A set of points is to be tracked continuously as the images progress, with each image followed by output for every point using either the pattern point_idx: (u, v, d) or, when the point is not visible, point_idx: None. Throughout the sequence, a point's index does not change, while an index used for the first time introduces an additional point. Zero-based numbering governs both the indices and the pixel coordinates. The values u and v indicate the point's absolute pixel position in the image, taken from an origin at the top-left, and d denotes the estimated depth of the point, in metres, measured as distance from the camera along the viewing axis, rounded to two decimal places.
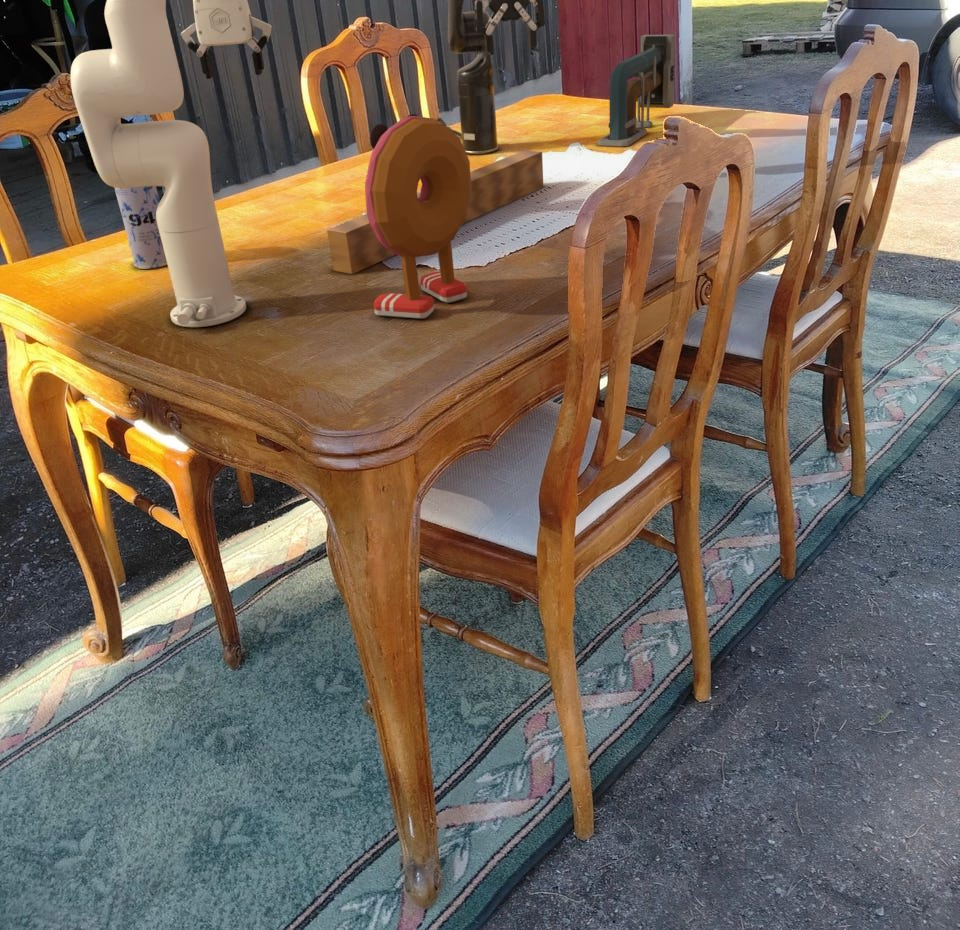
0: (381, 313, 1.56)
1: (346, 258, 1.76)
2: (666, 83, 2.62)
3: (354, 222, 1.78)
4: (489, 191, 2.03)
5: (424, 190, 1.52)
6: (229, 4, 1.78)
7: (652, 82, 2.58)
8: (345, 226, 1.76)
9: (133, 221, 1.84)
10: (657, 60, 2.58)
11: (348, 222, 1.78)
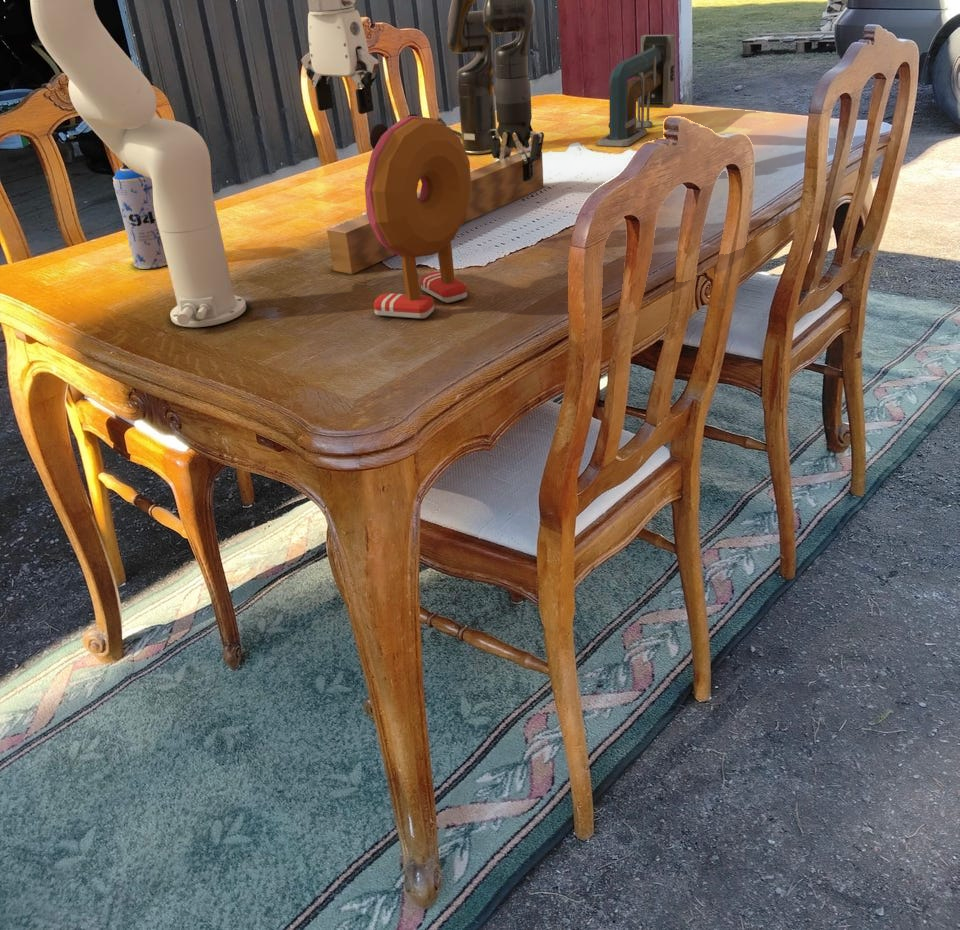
0: (381, 313, 1.56)
1: (346, 258, 1.76)
2: (666, 83, 2.62)
3: (354, 222, 1.78)
4: (489, 191, 2.03)
5: (424, 190, 1.52)
6: None
7: (652, 82, 2.58)
8: (345, 226, 1.76)
9: (133, 221, 1.84)
10: (657, 60, 2.58)
11: (348, 222, 1.78)
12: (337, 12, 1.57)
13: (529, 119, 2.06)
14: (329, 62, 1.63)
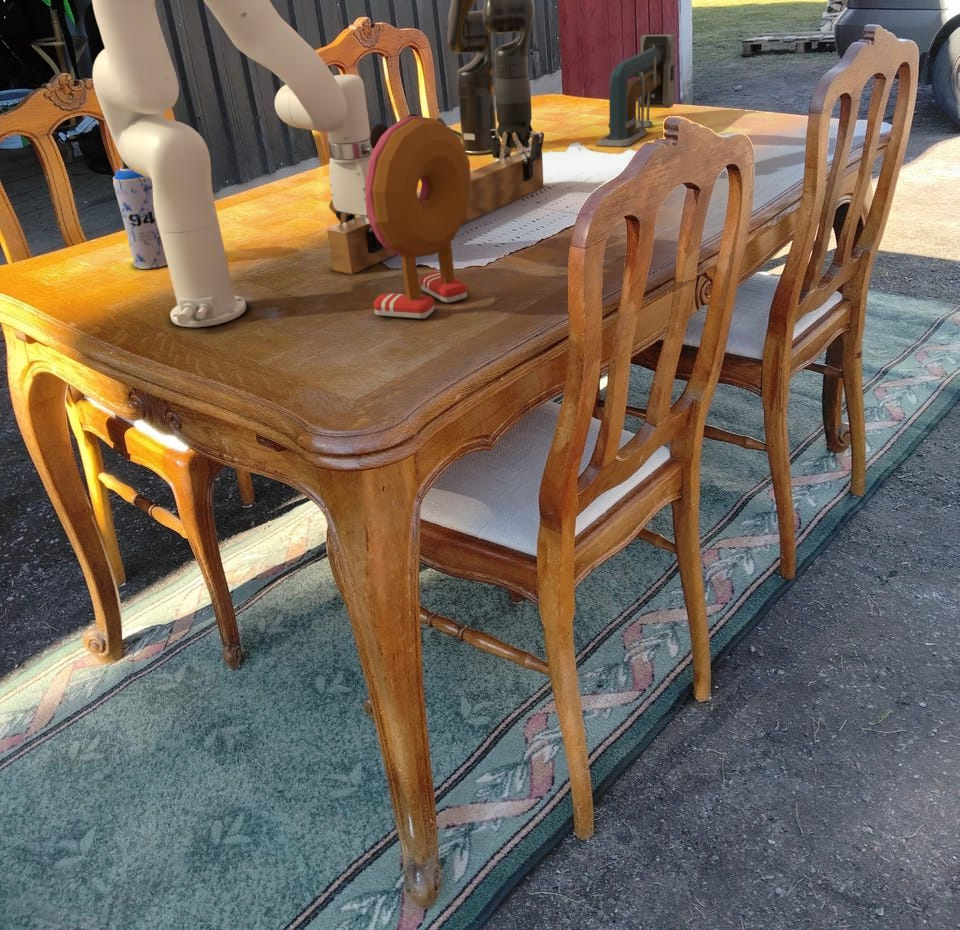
0: (381, 313, 1.56)
1: (346, 258, 1.76)
2: (666, 83, 2.62)
3: (354, 222, 1.78)
4: (490, 191, 2.03)
5: (424, 190, 1.52)
6: None
7: (652, 82, 2.58)
8: (345, 226, 1.76)
9: (133, 221, 1.84)
10: (657, 60, 2.58)
11: (348, 222, 1.78)
12: (357, 160, 1.69)
13: (529, 119, 2.06)
14: (349, 202, 1.75)
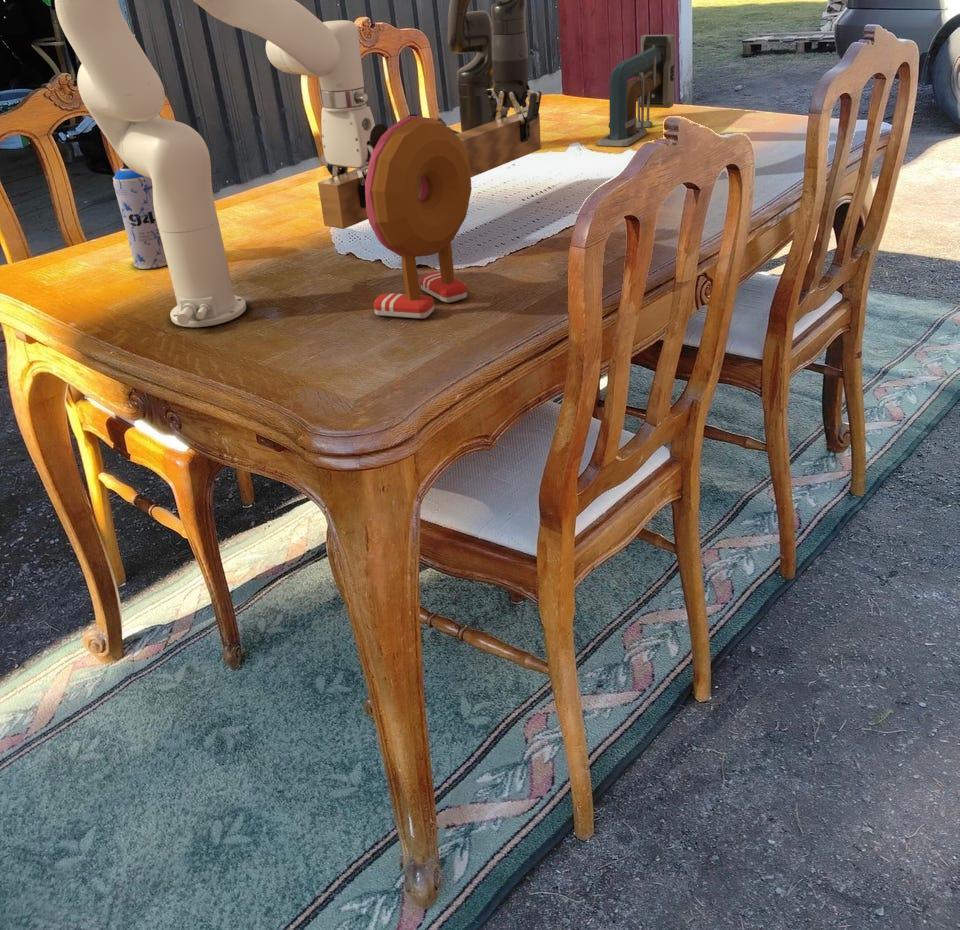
0: (381, 313, 1.56)
1: (337, 212, 1.71)
2: (666, 83, 2.62)
3: (346, 176, 1.73)
4: (485, 151, 1.99)
5: (424, 190, 1.52)
6: None
7: (652, 82, 2.58)
8: (336, 179, 1.72)
9: (133, 221, 1.84)
10: (657, 60, 2.58)
11: (340, 176, 1.74)
12: (350, 109, 1.65)
13: (526, 77, 2.01)
14: (341, 154, 1.70)
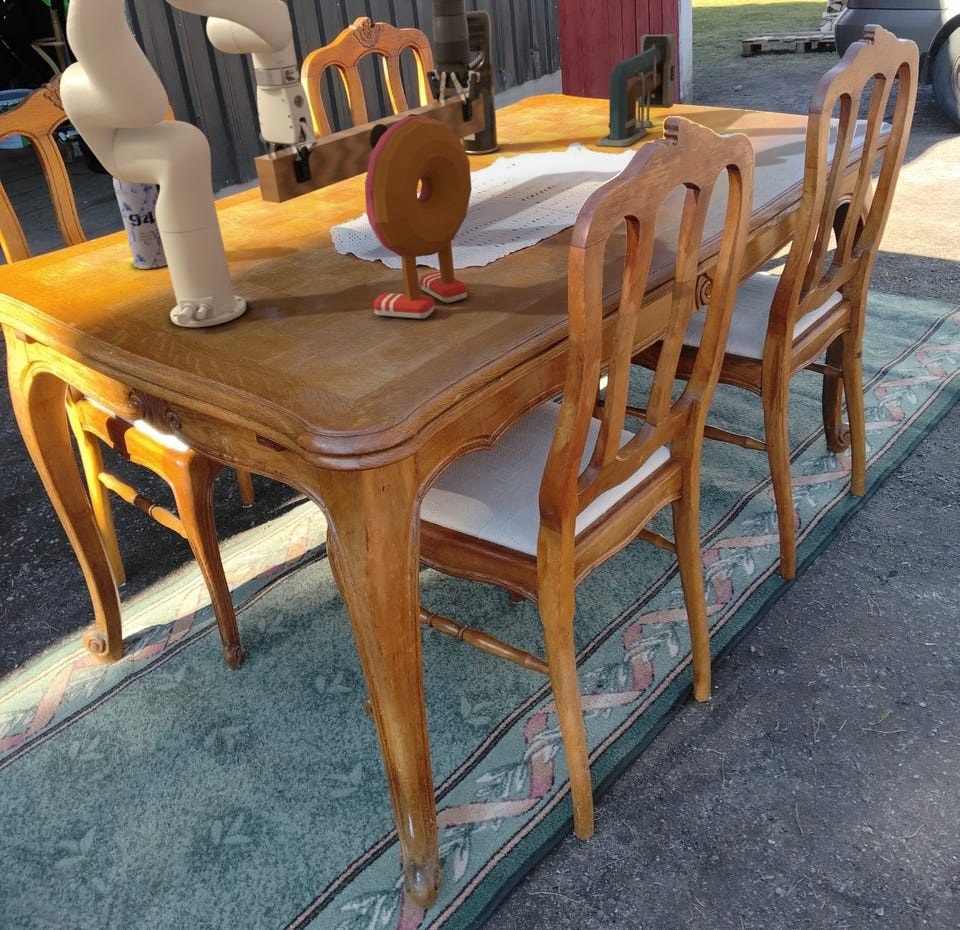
0: (381, 313, 1.56)
1: (273, 187, 1.76)
2: (666, 83, 2.62)
3: (283, 152, 1.78)
4: None
5: (424, 190, 1.52)
6: None
7: (652, 82, 2.58)
8: (273, 155, 1.77)
9: (133, 221, 1.84)
10: (657, 60, 2.58)
11: (277, 152, 1.79)
12: (282, 87, 1.70)
13: (467, 58, 2.06)
14: (276, 130, 1.75)
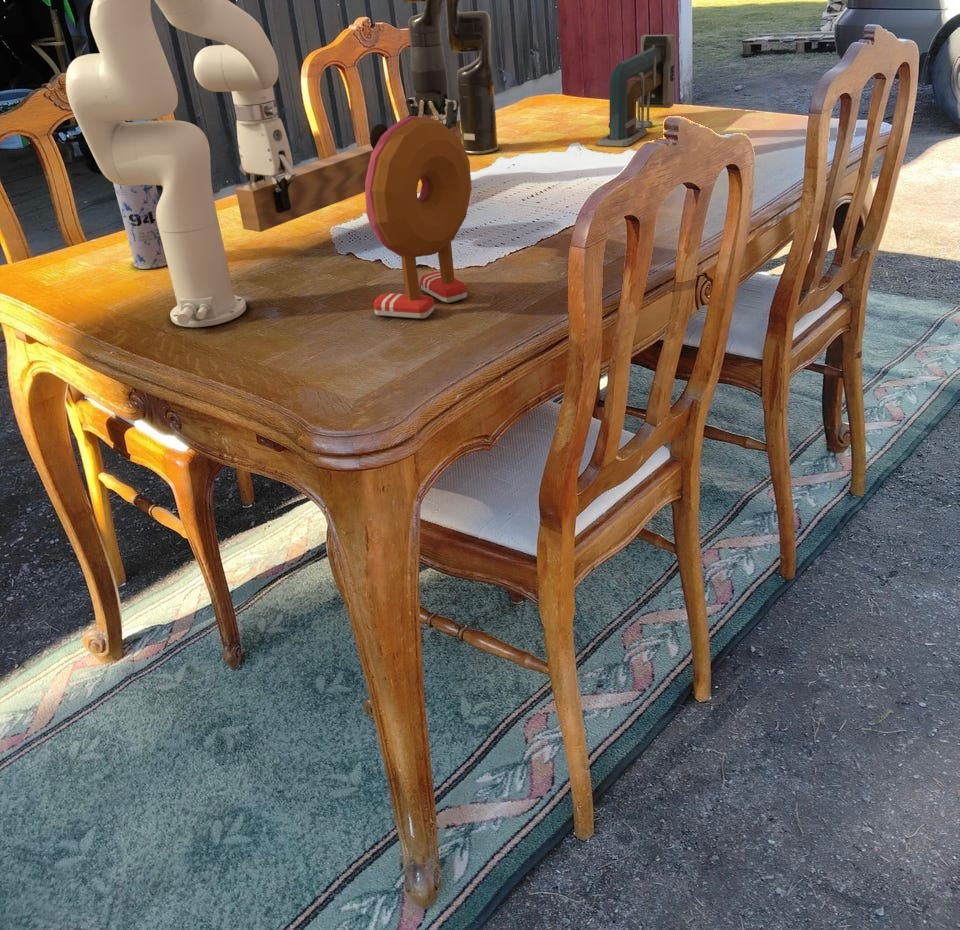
0: (381, 313, 1.56)
1: (254, 216, 1.83)
2: (666, 83, 2.62)
3: (263, 182, 1.85)
4: None
5: (424, 190, 1.52)
6: None
7: (652, 82, 2.58)
8: (253, 186, 1.83)
9: (133, 221, 1.84)
10: (657, 60, 2.58)
11: (257, 182, 1.85)
12: (261, 122, 1.76)
13: (444, 87, 2.12)
14: (256, 163, 1.82)
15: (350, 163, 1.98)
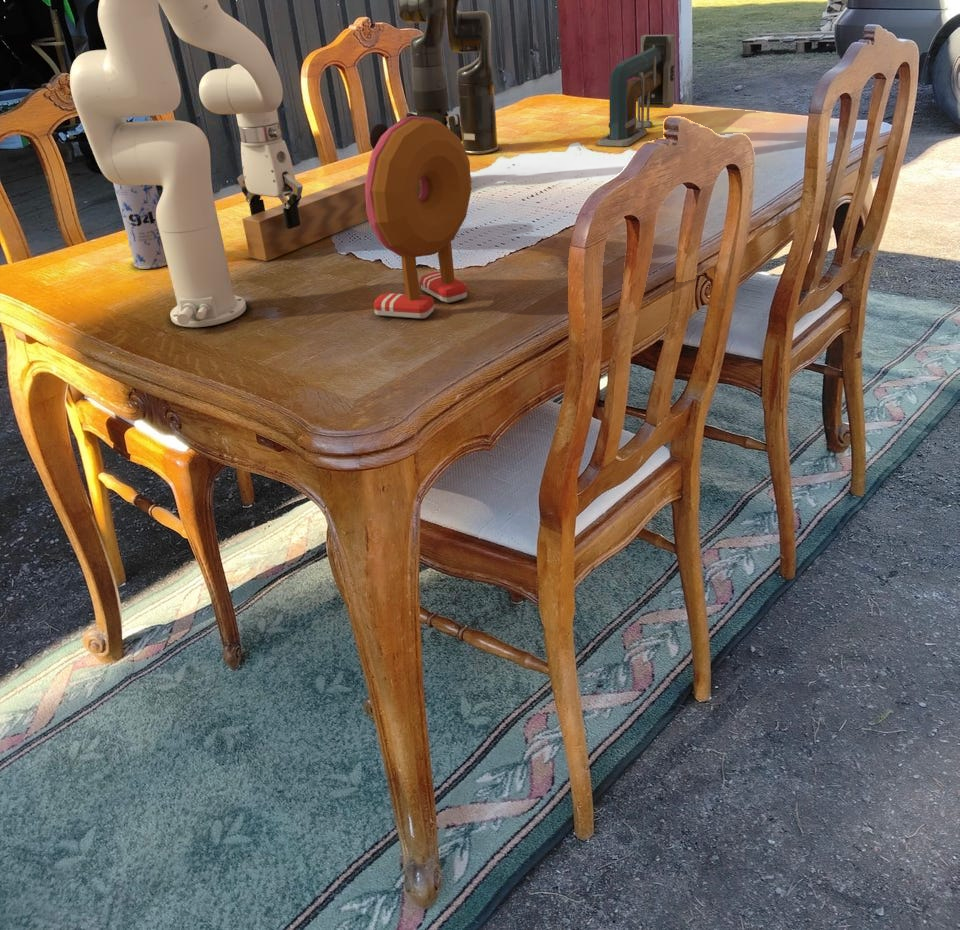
0: (381, 313, 1.56)
1: (260, 246, 1.86)
2: (666, 83, 2.62)
3: (269, 212, 1.88)
4: None
5: (424, 190, 1.52)
6: None
7: (652, 82, 2.58)
8: (260, 216, 1.86)
9: (133, 221, 1.84)
10: (657, 60, 2.58)
11: (263, 212, 1.88)
12: (265, 144, 1.78)
13: (445, 106, 2.15)
14: (259, 184, 1.84)
15: (355, 192, 2.01)
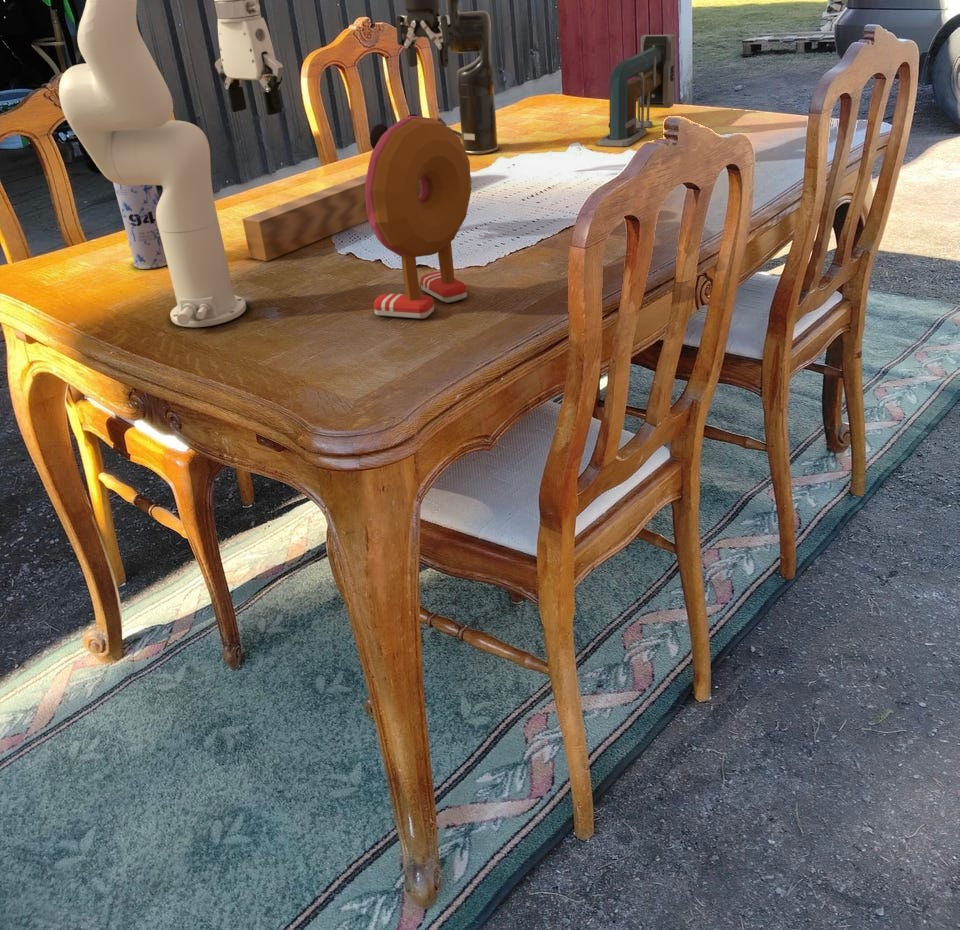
0: (381, 313, 1.56)
1: (260, 246, 1.86)
2: (666, 83, 2.62)
3: (269, 212, 1.88)
4: None
5: (424, 190, 1.52)
6: None
7: (652, 82, 2.58)
8: (260, 216, 1.86)
9: (133, 221, 1.84)
10: (657, 60, 2.58)
11: (263, 212, 1.88)
12: (242, 19, 1.68)
13: (437, 6, 2.04)
14: (238, 66, 1.73)
15: (355, 192, 2.01)
